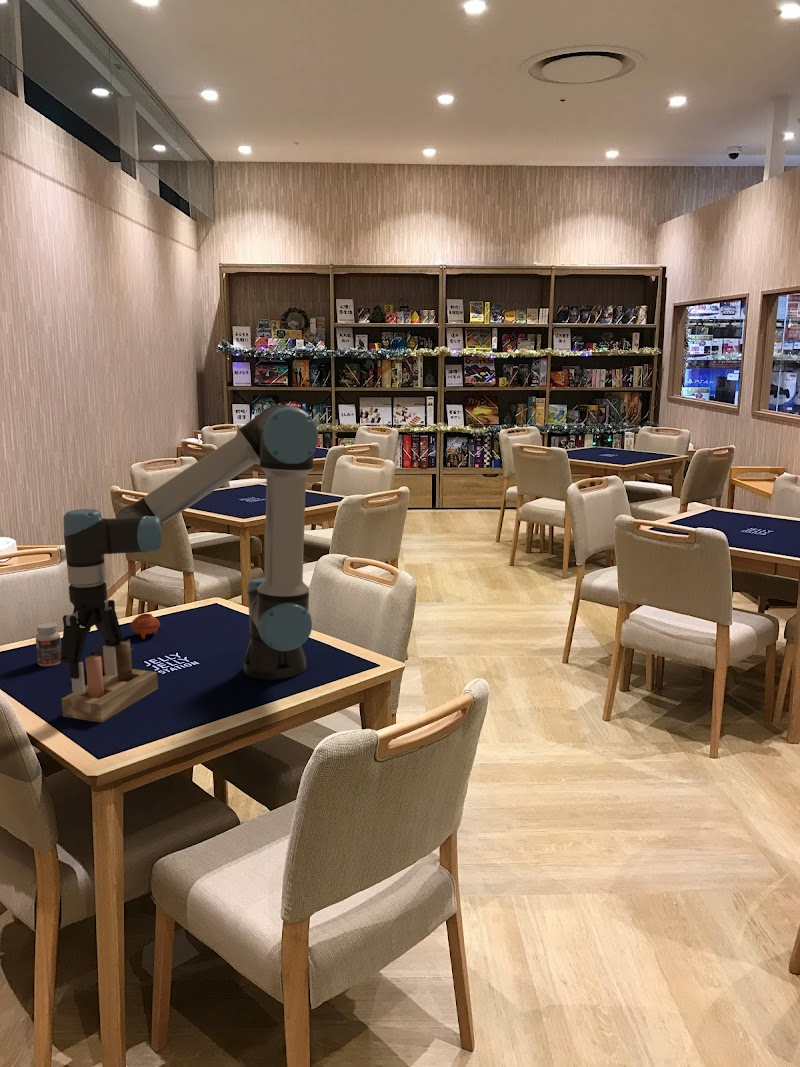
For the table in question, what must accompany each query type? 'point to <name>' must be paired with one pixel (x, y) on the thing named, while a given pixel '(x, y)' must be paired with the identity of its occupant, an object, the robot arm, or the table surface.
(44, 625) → the pill bottle
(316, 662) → the table surface
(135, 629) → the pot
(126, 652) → the walnut peg
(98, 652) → the character figurine
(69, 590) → the robot arm
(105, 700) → the maple hole block
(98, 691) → the terracotta peg
